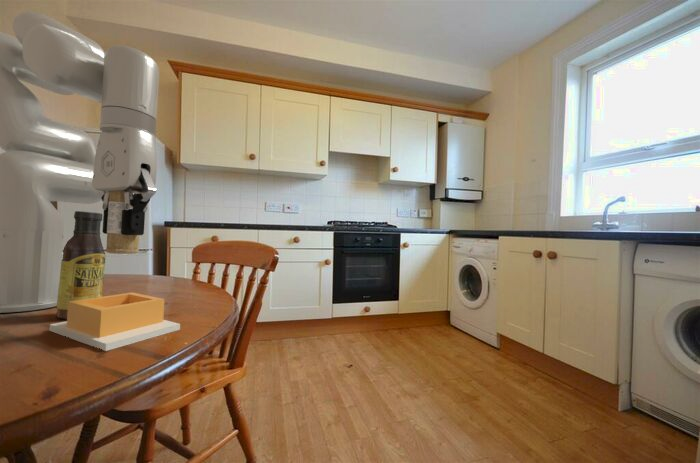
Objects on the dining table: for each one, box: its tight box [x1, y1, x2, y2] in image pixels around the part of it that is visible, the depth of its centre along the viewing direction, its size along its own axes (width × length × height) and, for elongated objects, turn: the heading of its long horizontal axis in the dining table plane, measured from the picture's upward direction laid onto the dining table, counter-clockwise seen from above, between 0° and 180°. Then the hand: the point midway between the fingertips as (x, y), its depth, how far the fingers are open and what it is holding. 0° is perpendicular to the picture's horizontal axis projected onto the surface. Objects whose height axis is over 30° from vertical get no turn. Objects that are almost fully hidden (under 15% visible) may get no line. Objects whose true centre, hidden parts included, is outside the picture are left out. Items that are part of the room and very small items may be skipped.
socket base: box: [49, 291, 181, 352], centre depth 49 cm, size 16×11×5 cm
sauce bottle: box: [56, 210, 107, 320], centre depth 56 cm, size 7×6×20 cm
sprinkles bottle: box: [104, 188, 140, 255], centre depth 49 cm, size 5×5×13 cm
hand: (123, 233), depth 49 cm, fingers closed on sprinkles bottle, 4 cm apart
